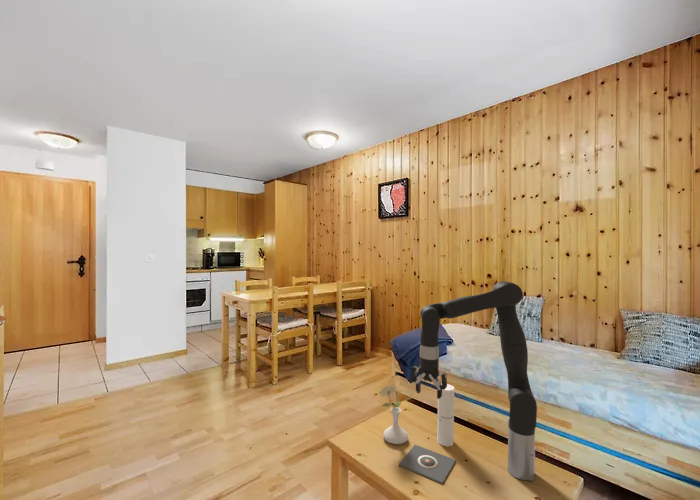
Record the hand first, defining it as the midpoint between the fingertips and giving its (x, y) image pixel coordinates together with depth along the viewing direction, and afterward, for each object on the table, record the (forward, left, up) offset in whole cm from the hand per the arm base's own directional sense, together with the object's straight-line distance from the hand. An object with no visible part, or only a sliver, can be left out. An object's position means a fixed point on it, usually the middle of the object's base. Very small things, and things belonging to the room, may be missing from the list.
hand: (428, 395), depth 135 cm
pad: (0, 0, -28) cm, 28 cm away
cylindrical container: (-1, -19, -28) cm, 34 cm away
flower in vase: (+19, -7, -28) cm, 35 cm away
